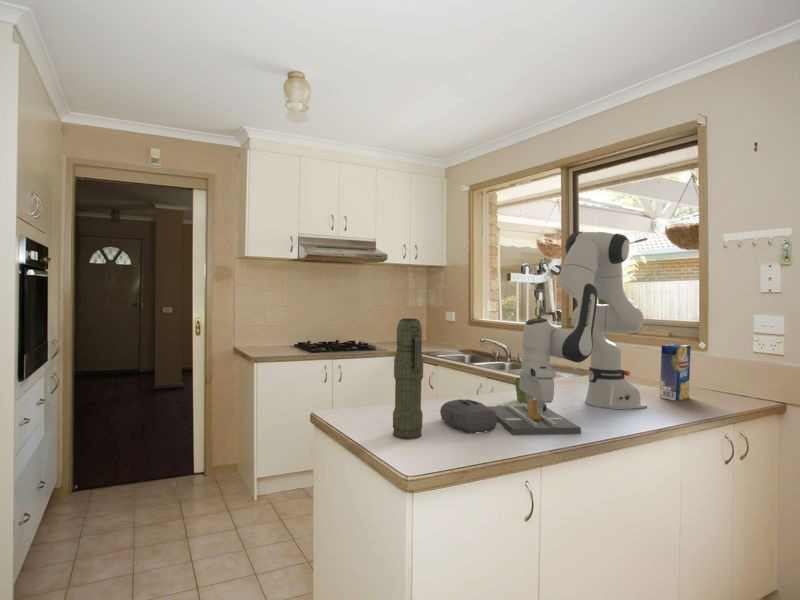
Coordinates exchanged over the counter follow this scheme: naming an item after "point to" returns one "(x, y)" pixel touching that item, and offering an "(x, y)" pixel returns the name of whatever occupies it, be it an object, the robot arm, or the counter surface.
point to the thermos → (408, 380)
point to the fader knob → (533, 410)
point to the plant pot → (520, 394)
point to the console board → (533, 421)
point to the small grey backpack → (468, 416)
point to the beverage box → (675, 371)
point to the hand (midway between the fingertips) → (534, 410)
